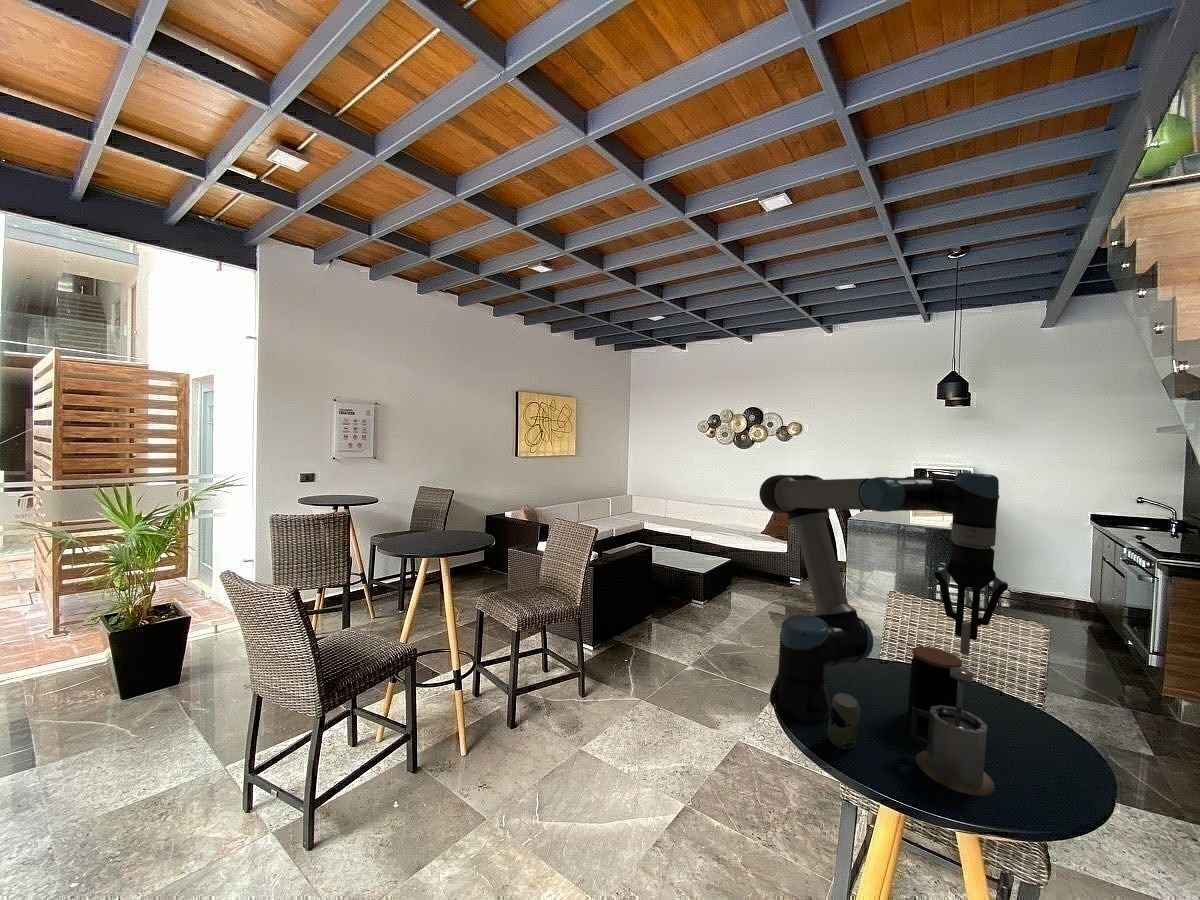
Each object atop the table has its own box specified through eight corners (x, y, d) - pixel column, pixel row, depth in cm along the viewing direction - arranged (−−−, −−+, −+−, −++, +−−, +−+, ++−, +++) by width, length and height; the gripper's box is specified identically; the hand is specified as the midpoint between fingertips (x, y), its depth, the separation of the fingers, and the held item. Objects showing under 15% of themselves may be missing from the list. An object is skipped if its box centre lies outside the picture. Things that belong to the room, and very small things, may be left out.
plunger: (937, 729, 106) (941, 671, 105) (940, 716, 111) (944, 661, 110) (975, 742, 101) (980, 682, 101) (976, 728, 106) (981, 671, 106)
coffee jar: (965, 739, 119) (971, 668, 119) (917, 732, 121) (923, 662, 121) (944, 715, 130) (949, 649, 129) (900, 708, 132) (905, 643, 131)
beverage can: (847, 736, 118) (850, 688, 118) (863, 757, 111) (866, 705, 110) (821, 735, 118) (824, 687, 118) (835, 755, 111) (839, 704, 110)
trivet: (911, 774, 106) (911, 772, 106) (920, 744, 116) (920, 742, 116) (993, 809, 97) (994, 806, 97) (995, 773, 107) (995, 770, 107)
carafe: (905, 764, 108) (909, 712, 107) (912, 743, 116) (915, 694, 115) (981, 795, 99) (986, 738, 99) (983, 771, 107) (987, 718, 106)
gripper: (933, 541, 106) (926, 648, 106) (1012, 553, 97) (1003, 668, 98) (937, 537, 111) (930, 638, 112) (1011, 547, 103) (1003, 656, 104)
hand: (964, 652), depth 105 cm, fingers closed
